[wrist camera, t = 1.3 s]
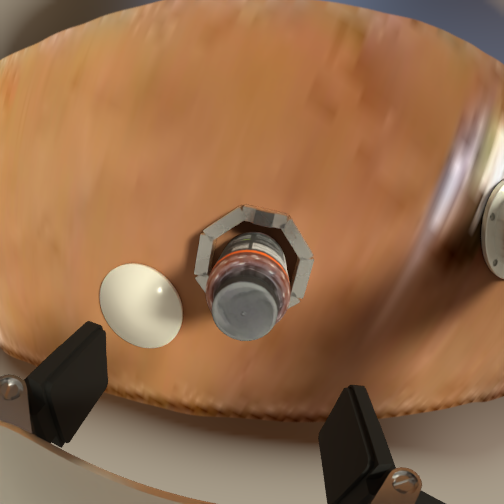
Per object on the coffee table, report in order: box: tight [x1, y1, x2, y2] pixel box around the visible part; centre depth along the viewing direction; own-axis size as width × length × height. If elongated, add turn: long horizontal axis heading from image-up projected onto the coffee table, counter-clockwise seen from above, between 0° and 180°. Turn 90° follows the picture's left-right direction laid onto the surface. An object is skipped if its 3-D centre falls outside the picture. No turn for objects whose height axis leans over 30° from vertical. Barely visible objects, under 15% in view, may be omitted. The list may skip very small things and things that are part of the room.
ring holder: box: [194, 204, 314, 308], centre depth 27 cm, size 10×10×3 cm
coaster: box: [100, 263, 183, 348], centre depth 30 cm, size 10×10×1 cm
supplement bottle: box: [206, 232, 291, 341], centre depth 23 cm, size 6×6×11 cm
